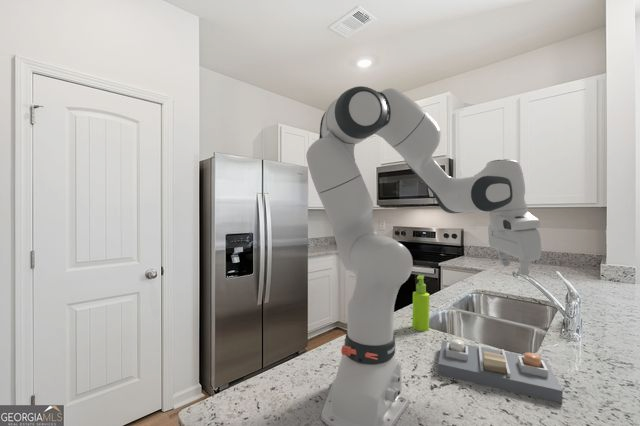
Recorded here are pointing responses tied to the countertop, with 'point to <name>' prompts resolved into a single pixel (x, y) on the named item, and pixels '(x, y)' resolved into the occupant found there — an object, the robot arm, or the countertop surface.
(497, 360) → the slider knob
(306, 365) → the countertop surface
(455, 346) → the white button
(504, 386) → the control panel
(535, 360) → the terracotta button
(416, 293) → the soap dispenser
